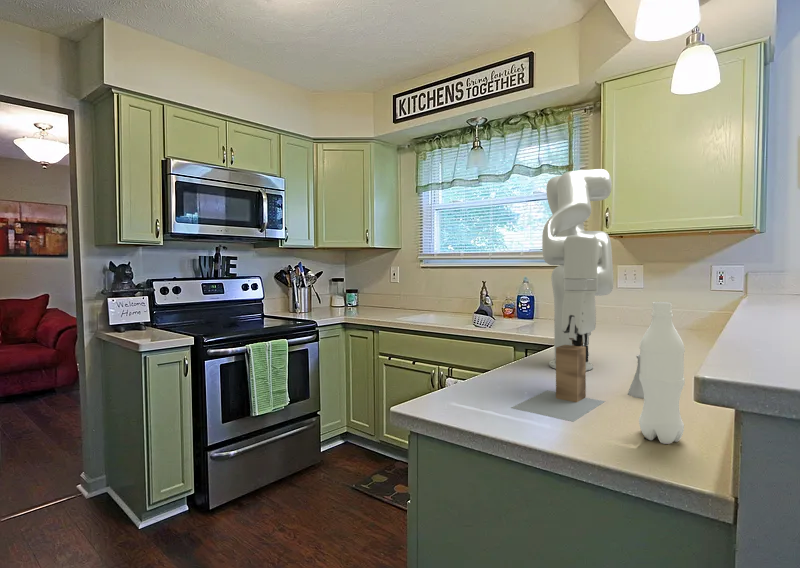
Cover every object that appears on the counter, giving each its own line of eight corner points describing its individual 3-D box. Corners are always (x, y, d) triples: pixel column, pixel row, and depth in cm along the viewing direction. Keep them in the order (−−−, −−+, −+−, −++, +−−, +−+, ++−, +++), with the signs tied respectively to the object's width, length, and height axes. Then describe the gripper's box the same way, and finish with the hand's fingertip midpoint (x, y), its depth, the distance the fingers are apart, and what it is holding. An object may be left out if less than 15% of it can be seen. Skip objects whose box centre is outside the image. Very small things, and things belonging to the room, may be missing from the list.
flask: (665, 402, 107) (665, 359, 106) (631, 401, 108) (631, 358, 108) (654, 393, 114) (655, 353, 113) (623, 392, 115) (623, 352, 115)
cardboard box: (565, 393, 113) (565, 344, 112) (585, 397, 109) (586, 346, 109) (555, 398, 109) (555, 347, 108) (577, 402, 106) (577, 349, 105)
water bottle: (675, 432, 88) (676, 300, 87) (690, 447, 81) (692, 304, 80) (634, 430, 89) (634, 300, 88) (645, 445, 82) (646, 304, 81)
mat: (547, 392, 116) (547, 390, 116) (605, 403, 106) (605, 401, 106) (510, 410, 103) (510, 407, 102) (573, 424, 93) (573, 421, 93)
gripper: (577, 284, 120) (577, 355, 121) (551, 287, 109) (552, 364, 110) (607, 285, 115) (607, 359, 116) (584, 288, 104) (583, 369, 105)
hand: (580, 361), depth 113 cm, fingers closed
